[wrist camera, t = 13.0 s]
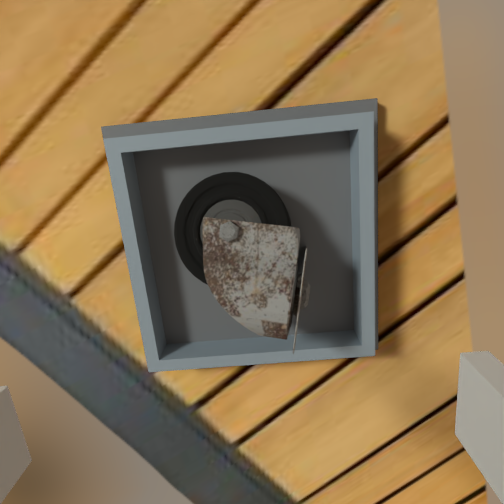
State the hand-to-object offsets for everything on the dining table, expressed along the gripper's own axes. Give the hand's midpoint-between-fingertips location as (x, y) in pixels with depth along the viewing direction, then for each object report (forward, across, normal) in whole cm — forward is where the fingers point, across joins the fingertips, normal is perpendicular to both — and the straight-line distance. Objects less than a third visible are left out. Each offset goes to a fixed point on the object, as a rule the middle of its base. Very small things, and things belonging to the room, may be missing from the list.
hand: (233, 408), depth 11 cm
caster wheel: (+19, 0, 0) cm, 19 cm away
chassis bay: (+20, 0, 0) cm, 20 cm away
